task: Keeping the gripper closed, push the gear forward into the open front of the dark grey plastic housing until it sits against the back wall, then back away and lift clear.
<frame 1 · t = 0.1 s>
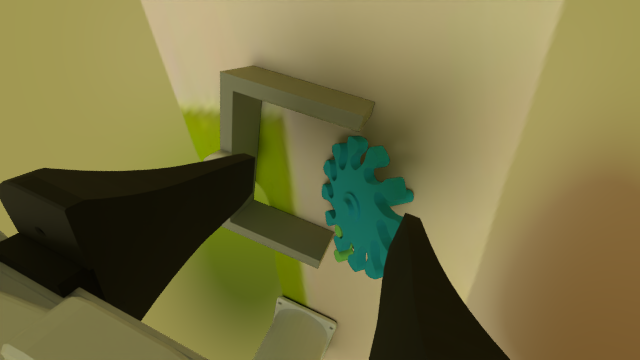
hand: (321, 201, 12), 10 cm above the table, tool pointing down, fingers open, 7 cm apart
housing: (297, 162, 24), on the table
gear: (366, 186, 23), on the table
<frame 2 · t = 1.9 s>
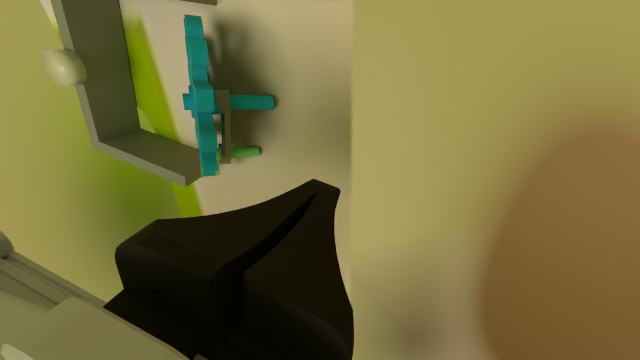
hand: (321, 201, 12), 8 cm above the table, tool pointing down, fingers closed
housing: (166, 76, 22), on the table
gear: (236, 98, 21), on the table
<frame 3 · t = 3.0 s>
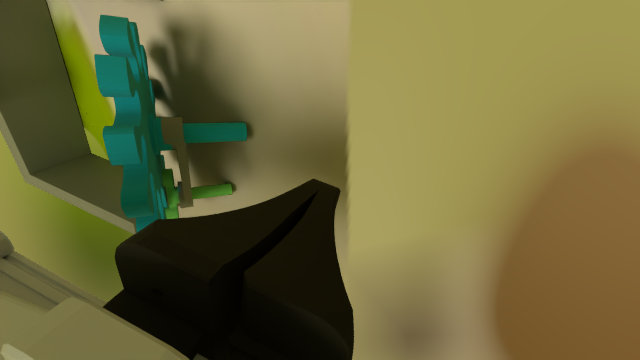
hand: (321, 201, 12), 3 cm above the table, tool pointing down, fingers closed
housing: (113, 92, 17), on the table
gear: (201, 122, 16), on the table
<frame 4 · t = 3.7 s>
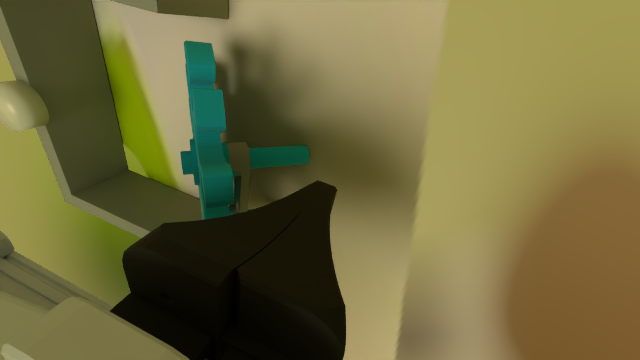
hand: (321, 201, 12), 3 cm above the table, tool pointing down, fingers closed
housing: (159, 110, 17), on the table
gear: (254, 142, 16), on the table, touching gripper
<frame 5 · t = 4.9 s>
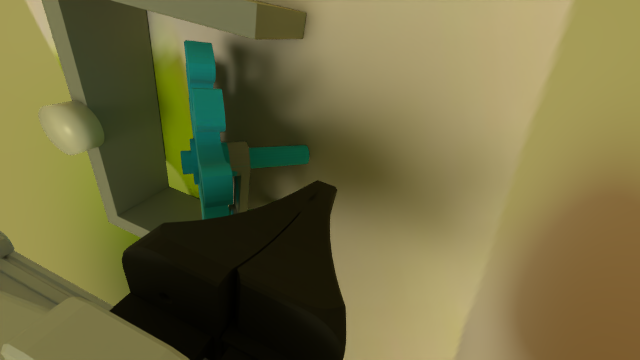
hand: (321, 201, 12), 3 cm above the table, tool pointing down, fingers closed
housing: (211, 128, 16), on the table
gear: (254, 142, 16), on the table, touching gripper
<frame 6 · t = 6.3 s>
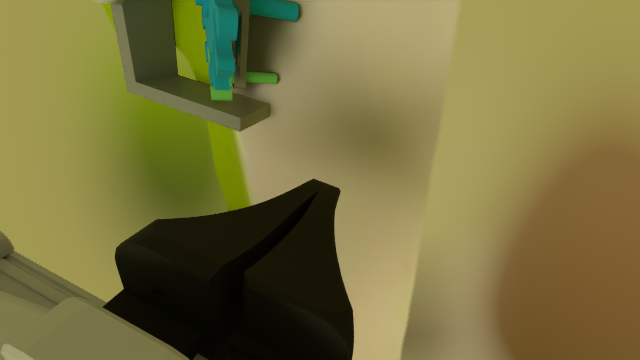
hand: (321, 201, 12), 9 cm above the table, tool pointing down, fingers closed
housing: (215, 2, 19), on the table
gear: (253, 13, 19), on the table
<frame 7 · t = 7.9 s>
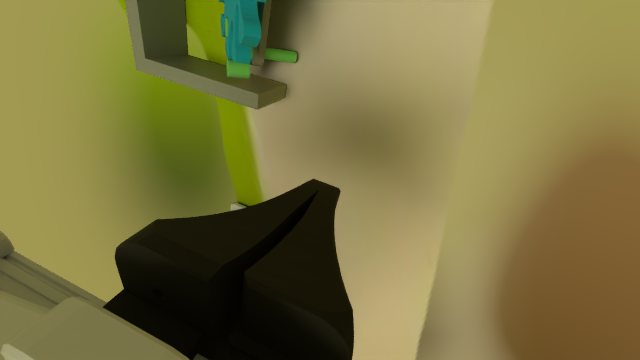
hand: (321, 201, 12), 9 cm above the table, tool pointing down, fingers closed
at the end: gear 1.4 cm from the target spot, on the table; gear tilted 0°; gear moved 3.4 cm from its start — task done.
